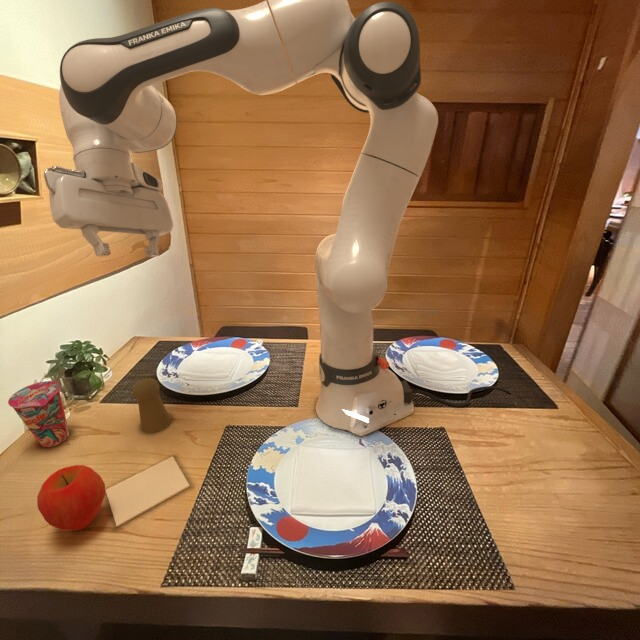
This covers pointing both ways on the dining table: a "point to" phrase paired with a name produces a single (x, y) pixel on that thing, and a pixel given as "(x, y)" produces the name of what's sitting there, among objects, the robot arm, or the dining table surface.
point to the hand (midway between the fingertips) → (130, 256)
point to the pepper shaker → (150, 406)
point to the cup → (42, 412)
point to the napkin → (145, 490)
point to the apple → (71, 497)
